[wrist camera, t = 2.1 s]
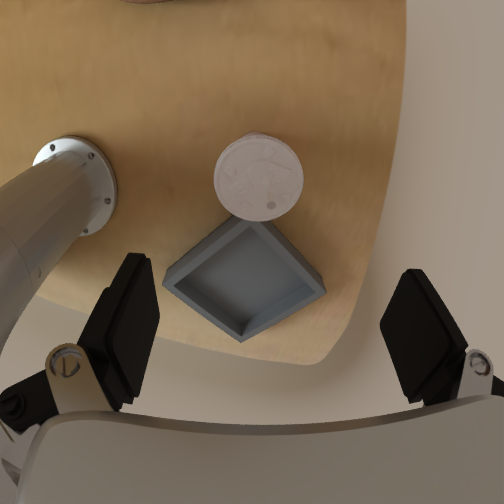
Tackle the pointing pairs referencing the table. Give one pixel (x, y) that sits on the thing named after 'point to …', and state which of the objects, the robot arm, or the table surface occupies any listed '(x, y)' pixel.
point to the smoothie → (258, 177)
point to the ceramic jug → (145, 1)
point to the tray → (244, 278)
